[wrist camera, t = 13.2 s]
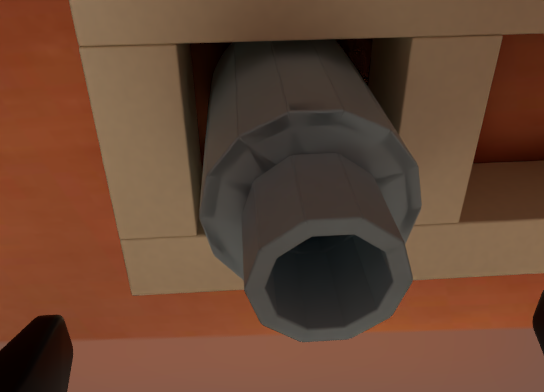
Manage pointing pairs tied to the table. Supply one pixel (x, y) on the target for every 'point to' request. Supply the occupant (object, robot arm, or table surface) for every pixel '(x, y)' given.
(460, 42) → the hole block
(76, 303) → the table surface
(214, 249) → the bottle
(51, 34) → the table surface
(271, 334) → the table surface
